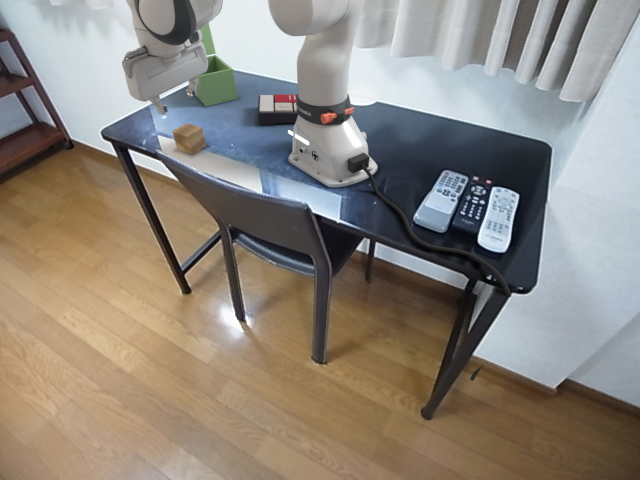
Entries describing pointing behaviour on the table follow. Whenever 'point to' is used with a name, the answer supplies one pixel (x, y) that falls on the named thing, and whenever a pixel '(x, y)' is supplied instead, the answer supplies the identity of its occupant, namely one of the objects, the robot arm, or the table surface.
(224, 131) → the table surface
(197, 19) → the robot arm
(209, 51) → the lid
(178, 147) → the block
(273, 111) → the black rectangular box
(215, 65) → the chest
